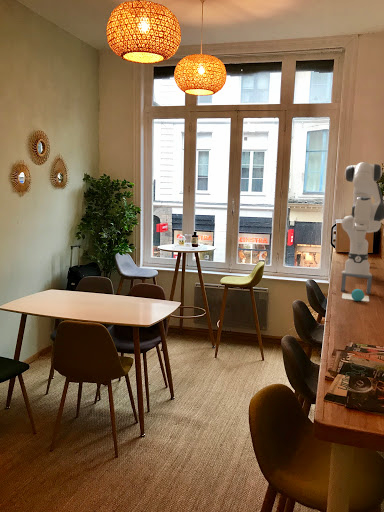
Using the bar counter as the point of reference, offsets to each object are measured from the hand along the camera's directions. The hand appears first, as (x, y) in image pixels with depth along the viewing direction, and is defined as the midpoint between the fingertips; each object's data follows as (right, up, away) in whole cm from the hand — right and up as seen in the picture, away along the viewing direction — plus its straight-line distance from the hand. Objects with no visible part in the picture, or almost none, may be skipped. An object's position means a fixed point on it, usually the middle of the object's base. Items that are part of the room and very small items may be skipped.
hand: (359, 250), depth 258 cm
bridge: (-5, -22, -9) cm, 25 cm away
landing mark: (-10, -24, -22) cm, 34 cm away
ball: (-11, -22, -30) cm, 39 cm away
